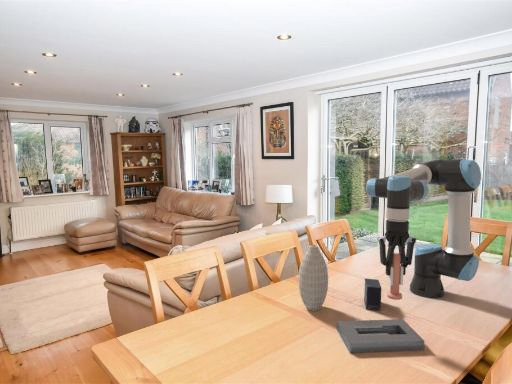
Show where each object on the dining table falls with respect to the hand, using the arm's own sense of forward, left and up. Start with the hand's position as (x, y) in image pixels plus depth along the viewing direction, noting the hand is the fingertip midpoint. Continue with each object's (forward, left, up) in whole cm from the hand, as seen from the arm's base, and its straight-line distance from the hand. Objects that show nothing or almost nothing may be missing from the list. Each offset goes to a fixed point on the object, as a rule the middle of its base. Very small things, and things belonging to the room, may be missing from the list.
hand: (395, 283), depth 128 cm
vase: (+24, -28, -21) cm, 42 cm away
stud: (0, 0, -5) cm, 5 cm away
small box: (-3, -29, -21) cm, 36 cm away
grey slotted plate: (+6, 0, -21) cm, 22 cm away
